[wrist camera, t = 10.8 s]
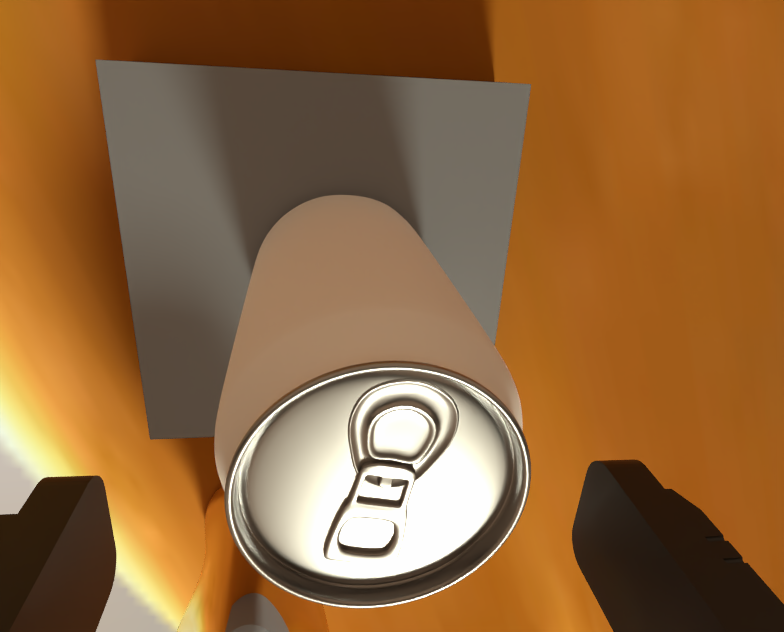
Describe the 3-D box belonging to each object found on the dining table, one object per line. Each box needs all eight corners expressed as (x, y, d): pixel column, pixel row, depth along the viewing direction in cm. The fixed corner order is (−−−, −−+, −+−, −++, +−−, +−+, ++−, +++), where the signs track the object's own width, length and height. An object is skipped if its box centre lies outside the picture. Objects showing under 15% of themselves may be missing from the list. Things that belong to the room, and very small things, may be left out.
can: (448, 214, 21) (609, 376, 10) (400, 366, 23) (487, 633, 12) (273, 170, 19) (231, 303, 8) (240, 337, 21) (173, 614, 11)
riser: (495, 81, 23) (531, 84, 19) (460, 380, 28) (483, 425, 25) (132, 61, 21) (95, 59, 17) (171, 388, 26) (150, 439, 23)
